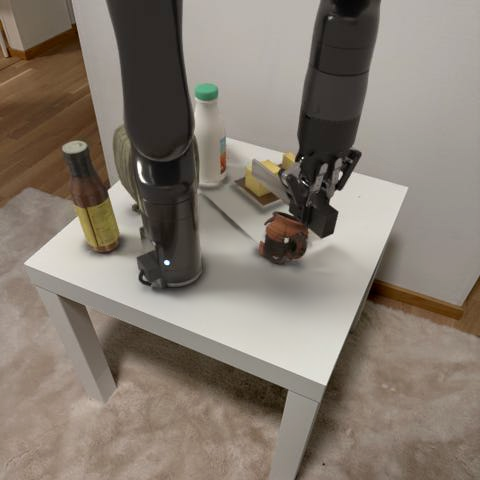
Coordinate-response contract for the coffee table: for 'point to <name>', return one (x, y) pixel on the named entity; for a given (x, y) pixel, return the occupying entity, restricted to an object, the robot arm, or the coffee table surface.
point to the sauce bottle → (91, 199)
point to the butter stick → (254, 183)
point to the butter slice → (288, 160)
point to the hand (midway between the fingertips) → (310, 219)
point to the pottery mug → (276, 234)
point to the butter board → (262, 199)
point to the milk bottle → (209, 134)
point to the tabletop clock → (126, 163)
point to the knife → (321, 212)
